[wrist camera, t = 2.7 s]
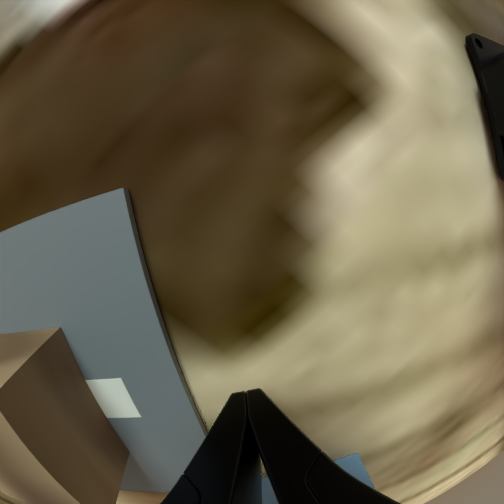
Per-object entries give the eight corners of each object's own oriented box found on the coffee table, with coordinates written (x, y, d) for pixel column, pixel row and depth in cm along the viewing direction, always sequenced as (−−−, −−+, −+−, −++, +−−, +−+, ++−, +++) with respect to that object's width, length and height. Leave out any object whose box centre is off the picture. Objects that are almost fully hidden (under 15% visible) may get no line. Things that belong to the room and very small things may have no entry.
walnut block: (60, 326, 8) (-9, 397, 4) (129, 452, 9) (109, 527, 5) (-29, 336, 7) (-82, 380, 3) (33, 441, 9) (3, 493, 5)
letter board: (128, 187, 7) (122, 188, 7) (232, 482, 10) (232, 489, 10) (-74, 270, 7) (-79, 272, 6) (32, 467, 10) (29, 471, 9)
